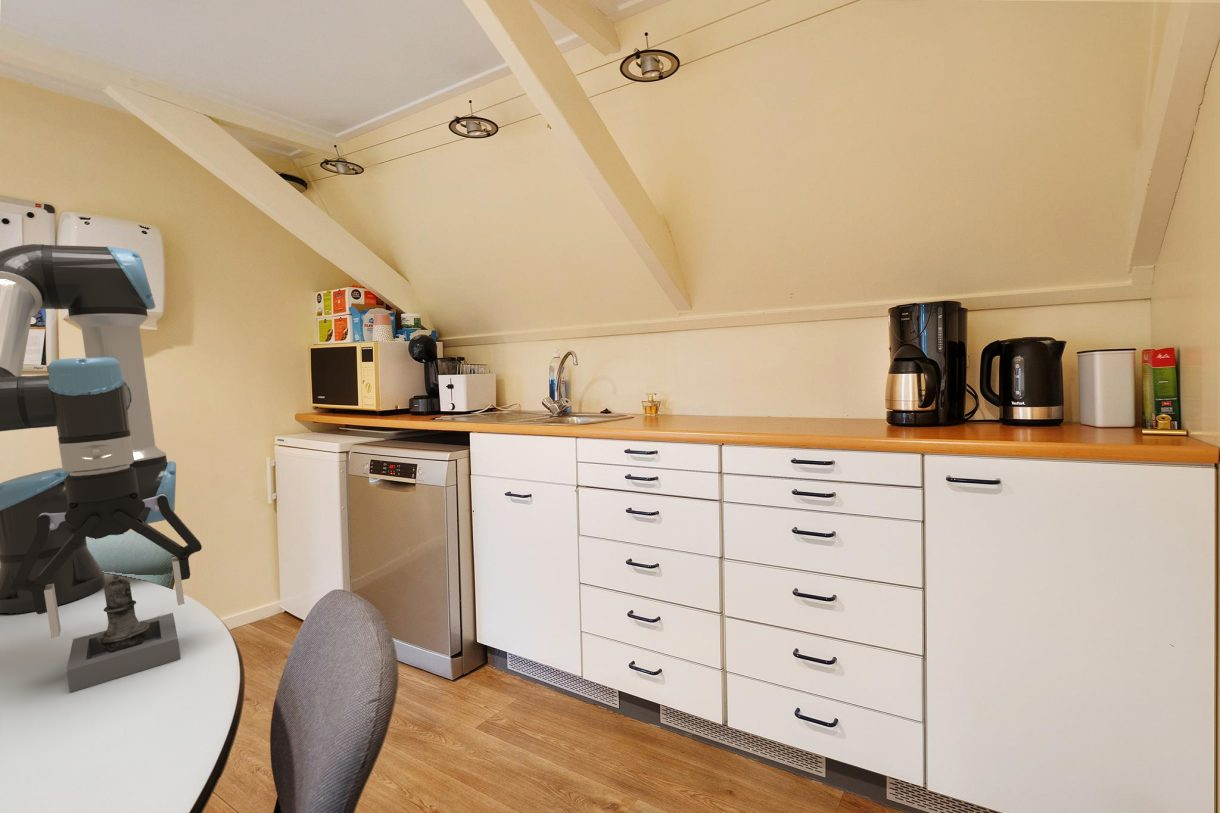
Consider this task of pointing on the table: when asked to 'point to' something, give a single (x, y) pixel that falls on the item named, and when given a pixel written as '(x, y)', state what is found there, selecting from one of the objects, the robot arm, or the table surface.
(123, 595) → the dark grey tall piece
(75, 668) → the grey square tray
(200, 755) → the table surface
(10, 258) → the robot arm
